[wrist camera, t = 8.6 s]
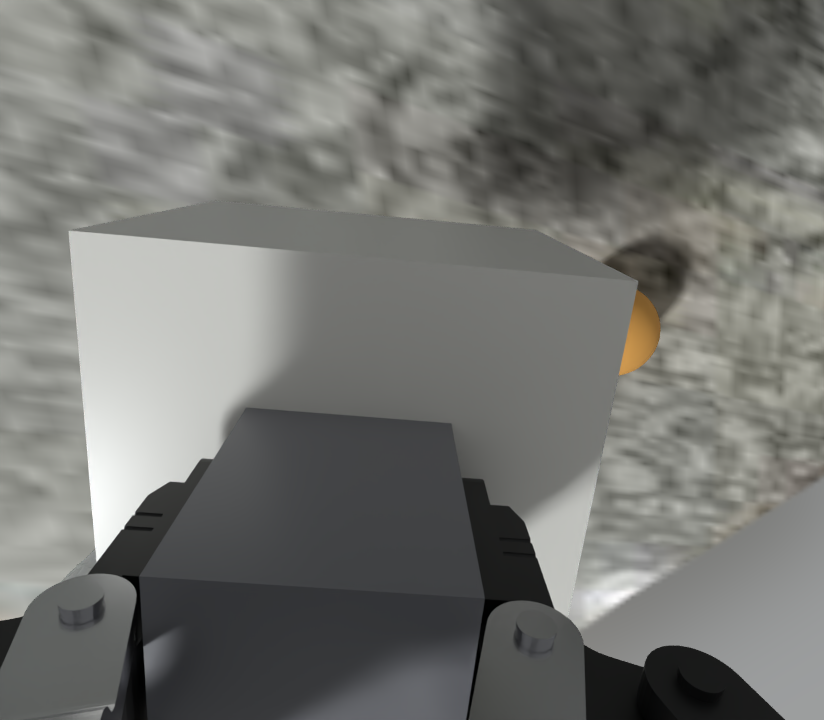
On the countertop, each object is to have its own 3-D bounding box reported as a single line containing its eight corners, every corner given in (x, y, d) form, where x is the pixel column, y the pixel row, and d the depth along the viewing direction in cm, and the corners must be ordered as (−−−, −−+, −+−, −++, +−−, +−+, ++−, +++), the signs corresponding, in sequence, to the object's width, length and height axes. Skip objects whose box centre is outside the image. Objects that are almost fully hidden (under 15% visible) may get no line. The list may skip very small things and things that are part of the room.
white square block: (215, 200, 19) (-204, 286, 6) (536, 229, 19) (817, 371, 6) (218, 486, 22) (-50, 961, 9) (494, 506, 23) (623, 985, 9)
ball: (677, 294, 33) (587, 274, 35) (667, 297, 29) (566, 273, 31) (650, 380, 34) (565, 355, 36) (637, 394, 30) (541, 365, 32)
